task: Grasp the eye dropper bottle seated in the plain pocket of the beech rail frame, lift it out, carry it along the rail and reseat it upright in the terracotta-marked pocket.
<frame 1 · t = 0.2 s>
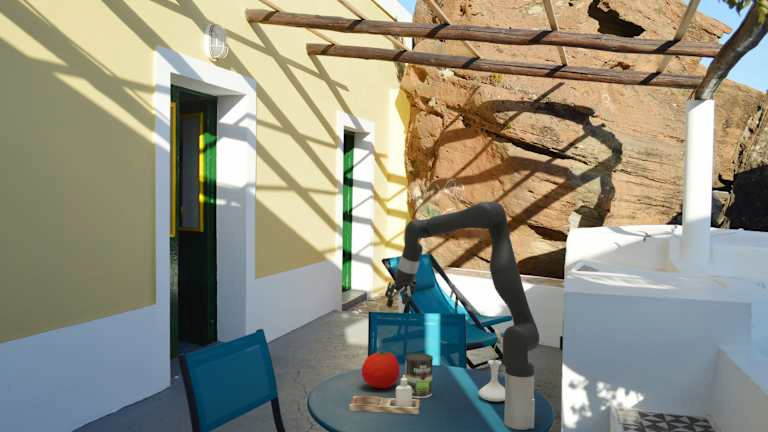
hand: (396, 305, 238), 31 cm above the table, tool tilted 20°, fingers open, 8 cm apart
eye dropper bottle: (403, 409, 213), resting in rail
tomato: (380, 387, 235), on the table
rail: (385, 407, 213), on the table
flower in vase: (494, 398, 224), on the table
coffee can: (418, 394, 228), on the table
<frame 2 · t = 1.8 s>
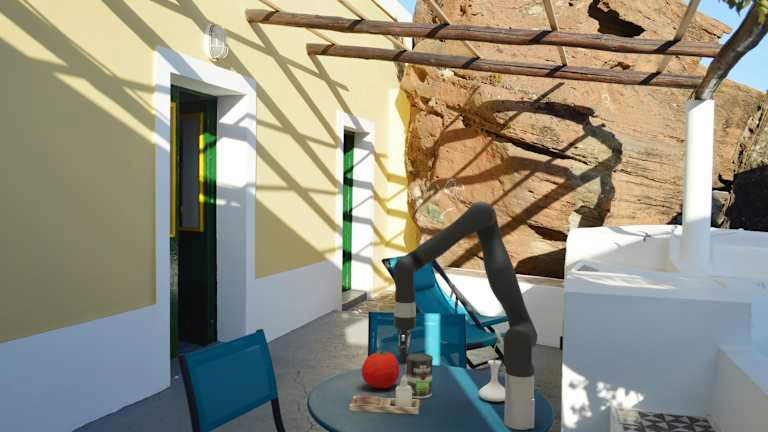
hand: (404, 360, 212), 17 cm above the table, tool pointing down, fingers open, 8 cm apart
nothing on the table moved.
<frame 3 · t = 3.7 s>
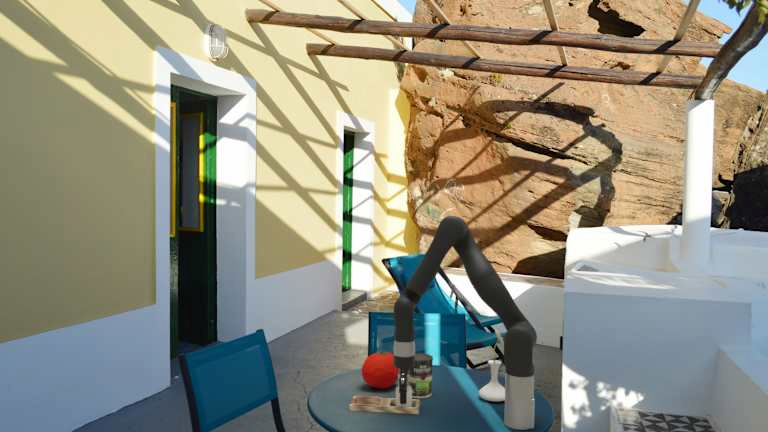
hand: (403, 401, 213), 3 cm above the table, tool pointing down, fingers closed on eye dropper bottle, 4 cm apart
eye dropper bottle: (403, 409, 213), resting in rail, touching gripper
everything else where it was.
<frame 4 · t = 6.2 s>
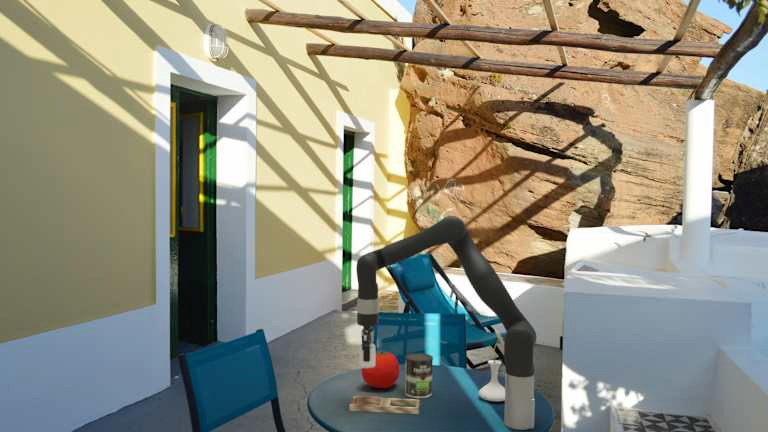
hand: (367, 359, 213), 17 cm above the table, tool pointing down, fingers closed on eye dropper bottle, 4 cm apart
eye dropper bottle: (367, 367, 213), point 14 cm above the table, touching gripper
everything else where it was.
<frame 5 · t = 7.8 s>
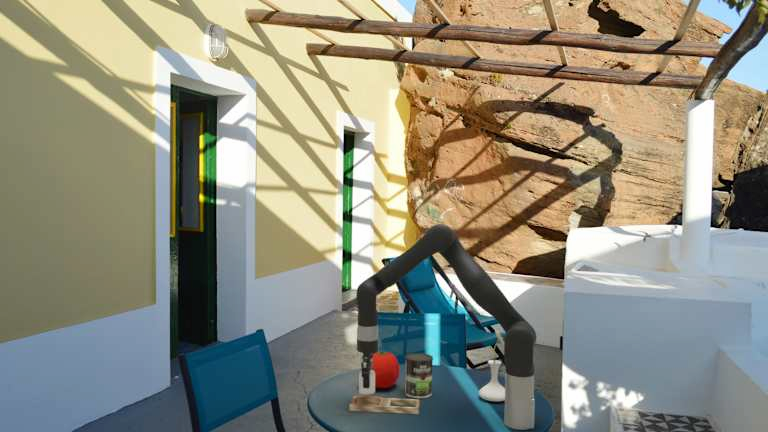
hand: (367, 385, 214), 8 cm above the table, tool pointing down, fingers closed on eye dropper bottle, 4 cm apart
eye dropper bottle: (367, 393, 214), point 5 cm above the table, touching gripper
everything else where it was.
when the fingers open (4 cm above the table, at t = 8.9 s): eye dropper bottle drops 1 cm, resting in rail.
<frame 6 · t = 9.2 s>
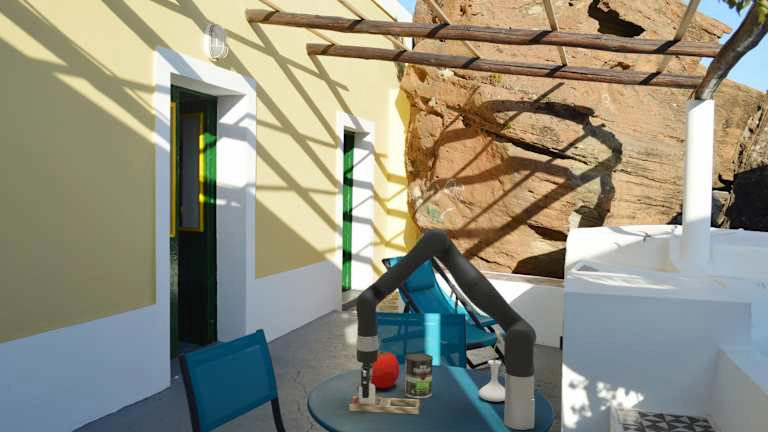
hand: (366, 394, 214), 5 cm above the table, tool pointing down, fingers open, 6 cm apart
eye dropper bottle: (367, 407, 214), resting in rail
everything else where it was.
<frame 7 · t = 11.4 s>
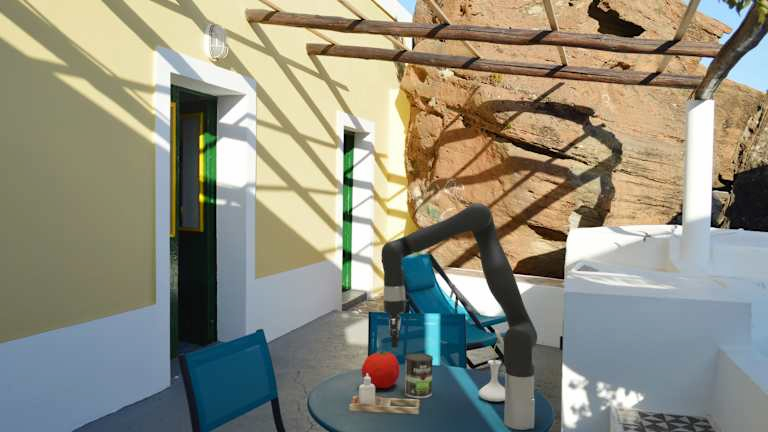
hand: (395, 344, 213), 23 cm above the table, tool pointing down, fingers open, 8 cm apart
nothing on the table moved.
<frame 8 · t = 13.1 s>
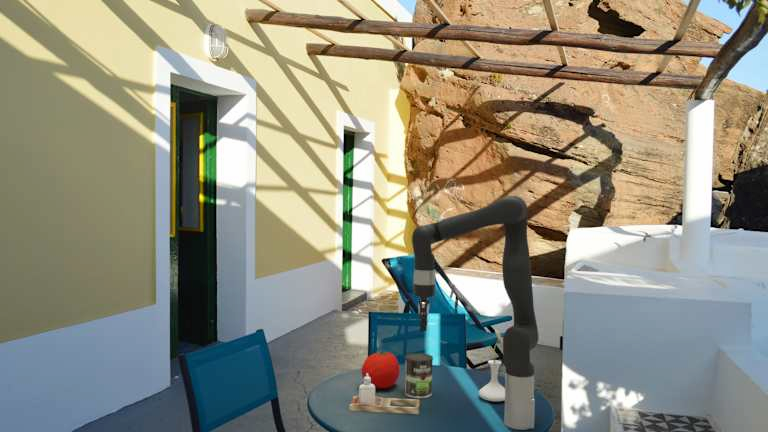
hand: (423, 328, 214), 28 cm above the table, tool pointing down, fingers open, 8 cm apart
nothing on the table moved.
at the end: eye dropper bottle 0.2 cm from the target spot on the rail, point 0.0 cm above the rail's base; eye dropper bottle tilted 0°; the gripper is holding nothing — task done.
